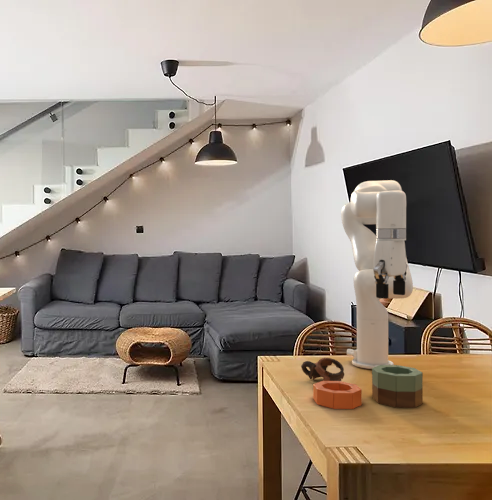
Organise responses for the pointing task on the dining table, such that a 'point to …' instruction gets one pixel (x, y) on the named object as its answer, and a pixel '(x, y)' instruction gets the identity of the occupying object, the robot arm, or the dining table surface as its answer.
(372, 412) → the dining table surface
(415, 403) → the ring bottom
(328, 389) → the ring top
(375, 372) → the ring middle
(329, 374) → the brown knot
